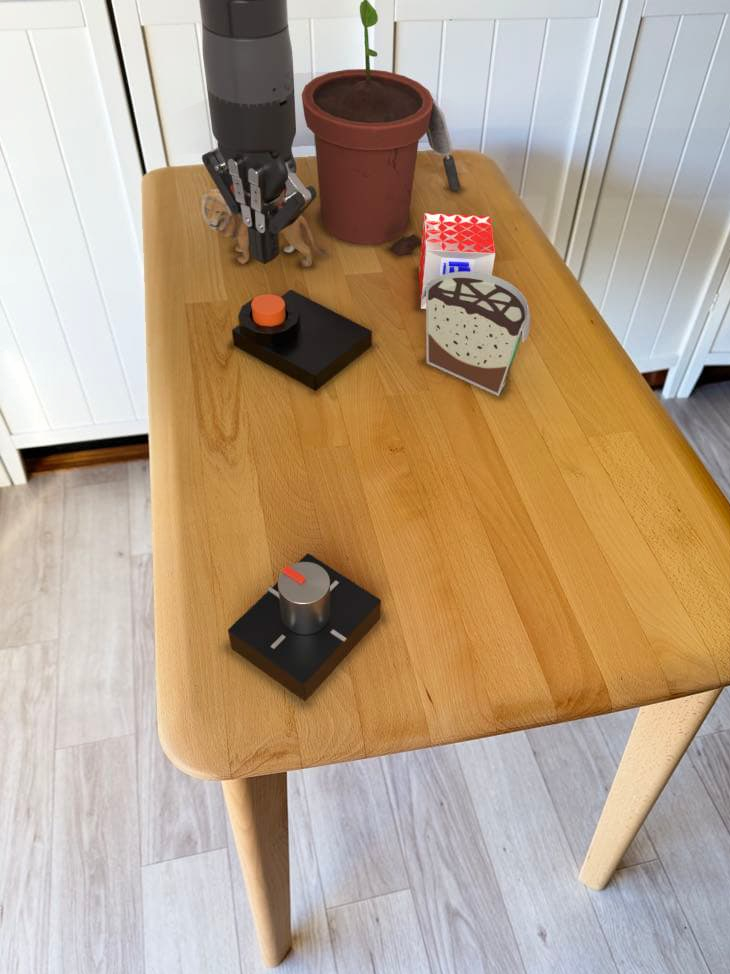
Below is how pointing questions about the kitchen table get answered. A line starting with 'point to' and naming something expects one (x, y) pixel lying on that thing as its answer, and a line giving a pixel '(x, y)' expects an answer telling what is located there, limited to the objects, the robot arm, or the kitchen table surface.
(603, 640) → the kitchen table surface
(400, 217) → the potted plant
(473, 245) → the red white box
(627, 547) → the kitchen table surface
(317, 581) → the dial
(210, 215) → the lion figurine
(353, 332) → the black button box
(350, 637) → the dial panel
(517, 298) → the food container
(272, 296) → the button
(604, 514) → the kitchen table surface
